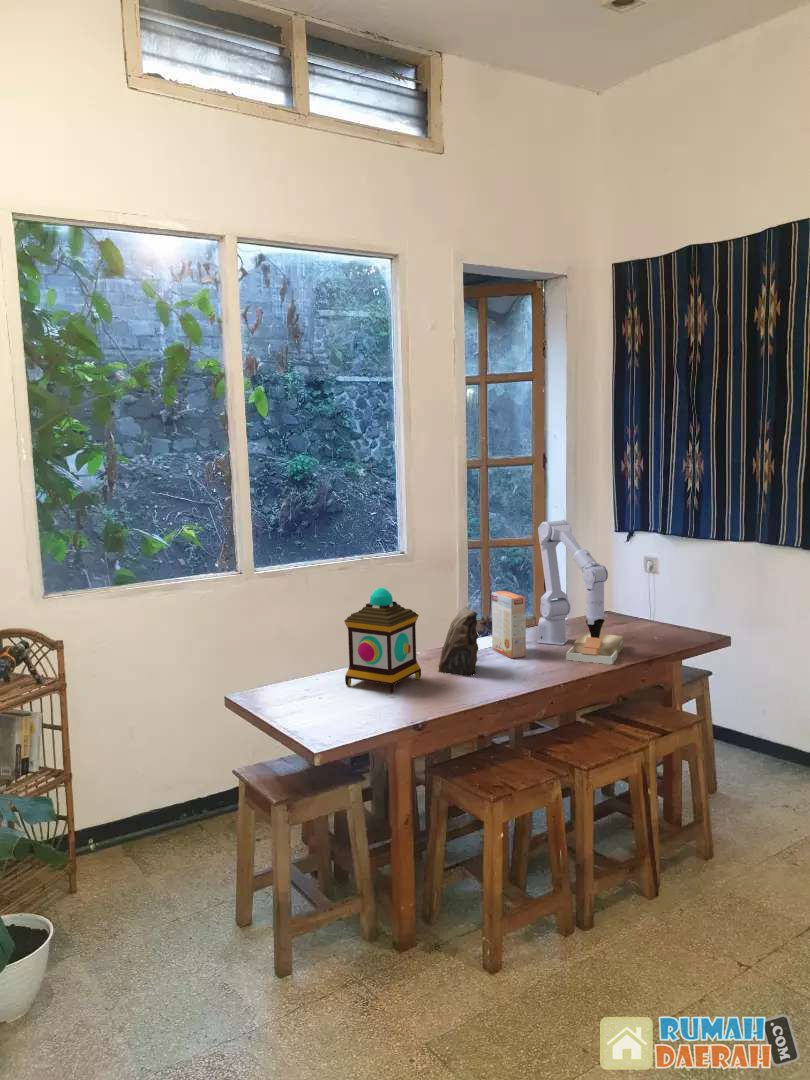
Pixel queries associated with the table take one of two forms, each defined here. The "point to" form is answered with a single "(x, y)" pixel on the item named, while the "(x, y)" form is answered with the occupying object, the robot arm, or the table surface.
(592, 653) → the tile front
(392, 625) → the decorative lantern
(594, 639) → the tile rear
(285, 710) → the table surface
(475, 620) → the brown rock
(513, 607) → the cracker box
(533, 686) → the table surface
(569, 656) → the tray
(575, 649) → the beige square tray
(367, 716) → the table surface
